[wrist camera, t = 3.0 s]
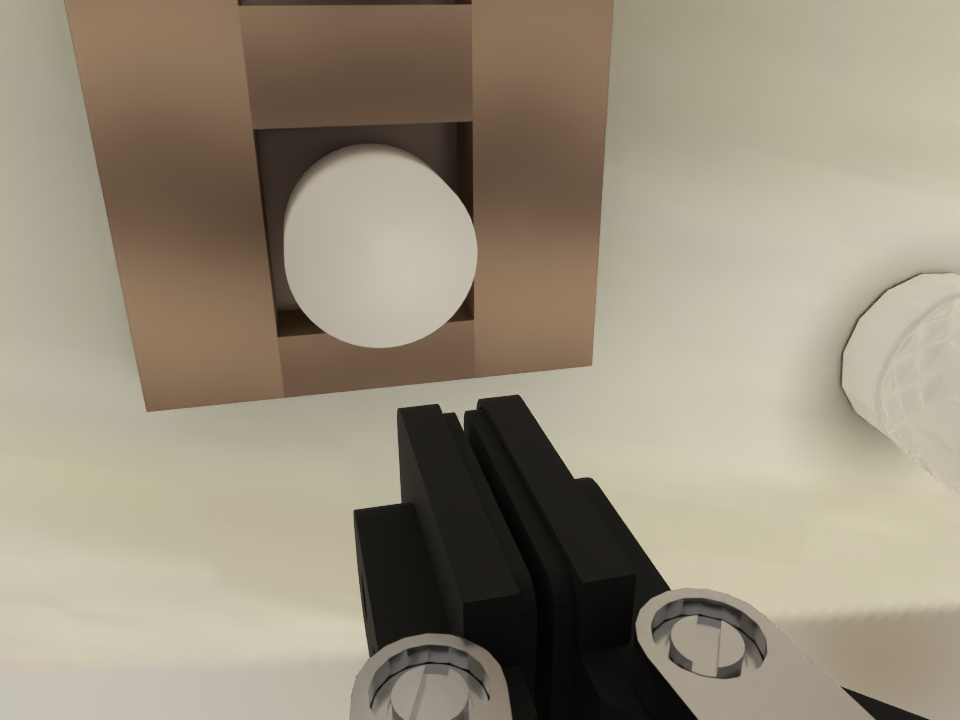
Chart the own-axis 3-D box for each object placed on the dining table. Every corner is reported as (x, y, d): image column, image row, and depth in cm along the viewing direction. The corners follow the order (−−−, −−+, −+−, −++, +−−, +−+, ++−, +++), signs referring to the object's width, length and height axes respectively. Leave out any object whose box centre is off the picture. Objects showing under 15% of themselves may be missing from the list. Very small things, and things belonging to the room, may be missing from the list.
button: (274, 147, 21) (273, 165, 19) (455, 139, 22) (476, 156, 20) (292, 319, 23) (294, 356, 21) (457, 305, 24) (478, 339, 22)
